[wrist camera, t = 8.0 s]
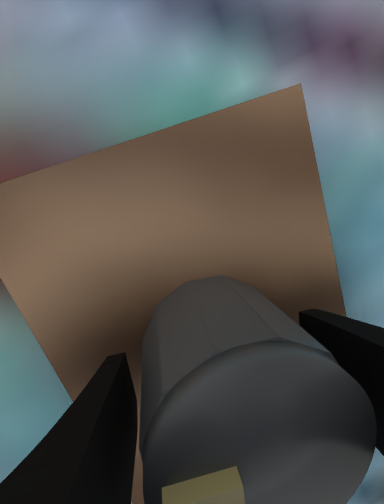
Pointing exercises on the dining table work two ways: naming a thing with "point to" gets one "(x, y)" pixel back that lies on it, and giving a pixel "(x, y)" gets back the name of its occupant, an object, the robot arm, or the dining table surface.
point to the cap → (246, 405)
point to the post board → (166, 233)
